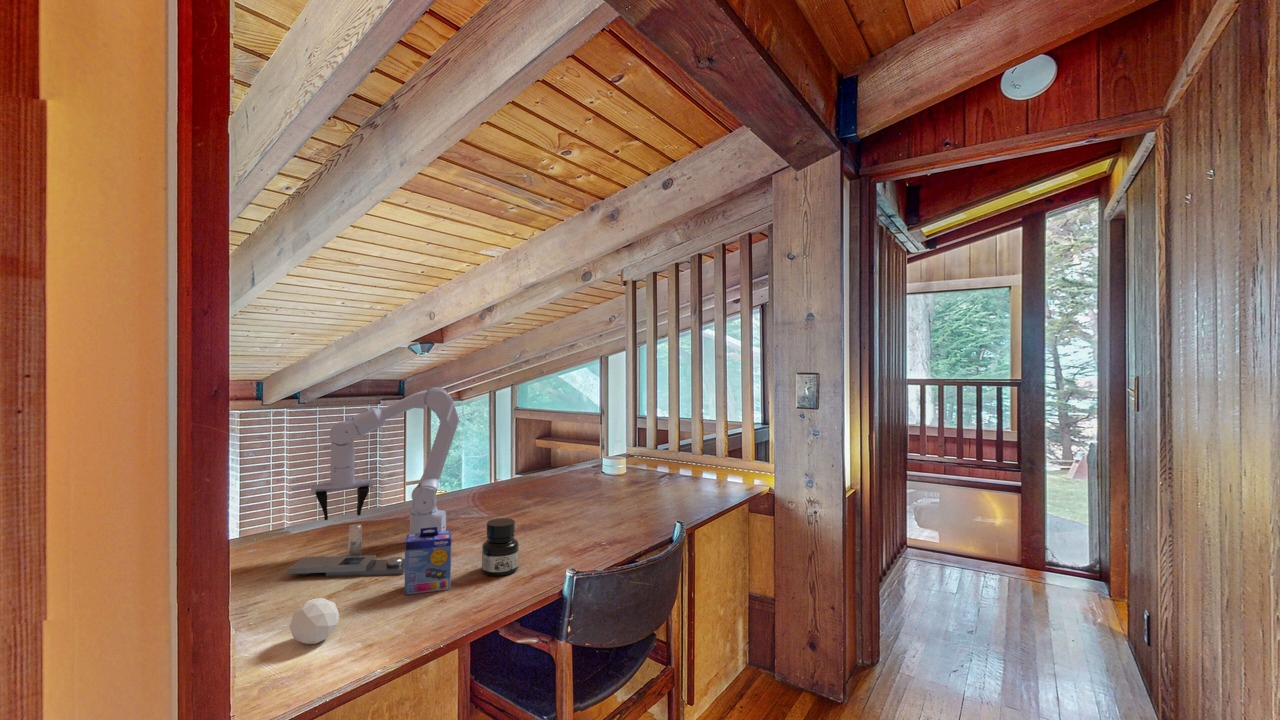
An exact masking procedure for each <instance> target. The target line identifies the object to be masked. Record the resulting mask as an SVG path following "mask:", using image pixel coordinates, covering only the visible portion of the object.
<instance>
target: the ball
mask: <svg viewBox="0 0 1280 720" xmlns="http://www.w3.org/2000/svg"><path fill="white" fill-rule="evenodd" d="M339 618H340V613H339V610H338V608H337V605H336V603H335V602H333V601H330V600H328V599H326V598H324V597H319V598H318V597H317V598H313V599H309V600H306V601H305V602H304V603H303V604H302V605H301V606H299V607H298V608H297V609H296V610H295V611H293V615H292V618H291V621H290V623H289V626H288V627H289V630H290V633H291V635H292V637H293V640H295V641H298V642H300V643H303V644H305V645H315V644H318V643H321V642H323V641H324V640H325V639H327V638H328V637H330V635H331V634H333V632H334V631H335V630H336V627H337V625H338V621H339Z"/></svg>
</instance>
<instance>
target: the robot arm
mask: <svg viewBox="0 0 1280 720" xmlns="http://www.w3.org/2000/svg"><path fill="white" fill-rule="evenodd" d="M426 405H427V407H428V408H429V410H431V411H432V412H434V413H435V415H436V416H437V418H438V420H439V421H440V423H439V426H438V429H437V432H436V435H435V437H434V441H433V443H432V447H431V449H430V452H429V456H428V459H427V462H426V464H425V467H424V470H423V474H422V475H421V477H420V480H419V481H418V484H417V485H416V486H415V488H413V490H412V492H411V500H412V501H411V504H412V508H410V510H409V534H416V533H420V531H421V528H429V527H437V530H438V531H447V513H446V510H440V509H438V506H437V503H438V501H437V500H438V499H437V491H438V489H439V482H440V479H441V477H442V476H441V475H442V473H443V470H444V467H445V464H446V460H447V458H448V454H449V452H450V448H451V446H452V442H453V440H454V438H455V434H456V431H457V428H458V425H459V423H460V421H459V420H460V419H459V416H458V412H457V409H456V406H455V401H454V399H453V398H452V397H451V395H450V394H449V392H448V391H446V390H445V389H444V388H442V387H439V386H434V387H433V386H432V387H431V388H429V389H428V390H427V389H425V390H421V391H419V392H415V393H412V394H411V395H409V396H407V397H404V398H402V399H399V400H398V401H395V402H393V403H391V404H390V405H388V406H385V407H384V408H380V409H379V408H376V407H371V408H369V407H366V408H363V412H360V413H358V414H357V413H356V415H353V416H351V417H350V416H347V417H345V420H341V421H338V422H337V423H335V424H334V425H333V426H332V427H331V428H330V430H329V438H330V440H331V443H330V447H331V449H330V475H329V476H330V482H325V483H319V484H311V485H310V494H311V495H315V497H316V499H317V501H318V503H319V505H320V507H321V509H322V512H323V519H324V521H328V520H329V519H328V518H329V515H328V493H330V492H337V491H338V492H339V491H344V490H345V491H346V490H354V489H356V490H357V491H356V494H357V506H356V515H357V517H359V516H362V515H361V514H362V509H363V506H364V502H365V500H366V498H367V496H368V494H369V492H370V488H373V487H374V479H373V478H368V479H367V478H364V479H356V477H355V476H356V474H355V473H356V470H355V468H356V464H355V462H356V451H355V439H354V438H355V437H362V436H364V435H366V434H369V433H370V432H373V431H375V430H377V429H381V428H382V427H383V426H384V424H385V421H387V420H388V419H390V418H393V417H396V416H398V415H400V414H402V413H405V412H407V411H410V410H412V409H422V410H423V409H426ZM433 531H435V530H426V531H423V532H433Z"/></svg>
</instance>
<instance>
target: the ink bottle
mask: <svg viewBox="0 0 1280 720" xmlns="http://www.w3.org/2000/svg"><path fill="white" fill-rule="evenodd" d="M515 523H516V521H515V520H514V519H512V518H508V517H499V518H493V519H490V520H488V521H487V522H486V540H485V541H484V542H483V544H482V546H481V571H482V573H483V574H485V575H486V576H489V577H490V576H491V577H499V576H500V577H502V576H507V575H511V574H513V573H515V572H517V570H518V568H519V555H520V553H519V549H520V547H519V544H520V543H519V541H518V540H517V539H516V538H515V537H514V536H515V533H516V532H515V531H516V530H515V526H516V525H515Z"/></svg>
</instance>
